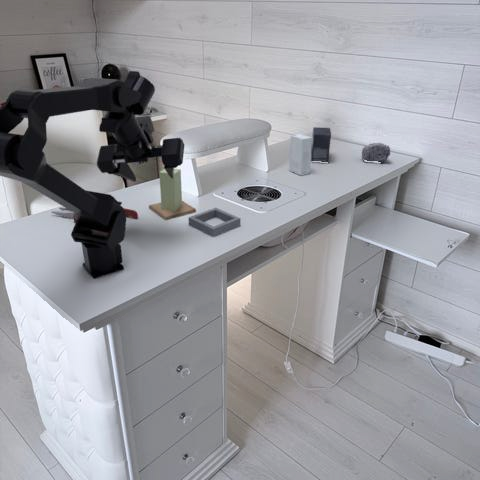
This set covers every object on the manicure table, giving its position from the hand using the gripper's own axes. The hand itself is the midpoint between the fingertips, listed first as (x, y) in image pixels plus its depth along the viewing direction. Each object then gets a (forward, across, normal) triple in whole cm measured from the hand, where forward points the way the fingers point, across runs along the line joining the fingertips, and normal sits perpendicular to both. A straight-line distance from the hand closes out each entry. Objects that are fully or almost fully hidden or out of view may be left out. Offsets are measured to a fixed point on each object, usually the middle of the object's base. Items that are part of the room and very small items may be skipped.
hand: (153, 178), depth 102 cm
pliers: (+9, +17, +4) cm, 20 cm away
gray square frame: (+13, -12, +6) cm, 19 cm away
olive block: (+15, 0, -2) cm, 15 cm away
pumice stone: (+55, -60, -42) cm, 92 cm away
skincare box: (+41, -32, -29) cm, 60 cm away
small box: (+51, -40, -42) cm, 77 cm away
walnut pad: (+15, +1, -1) cm, 15 cm away
